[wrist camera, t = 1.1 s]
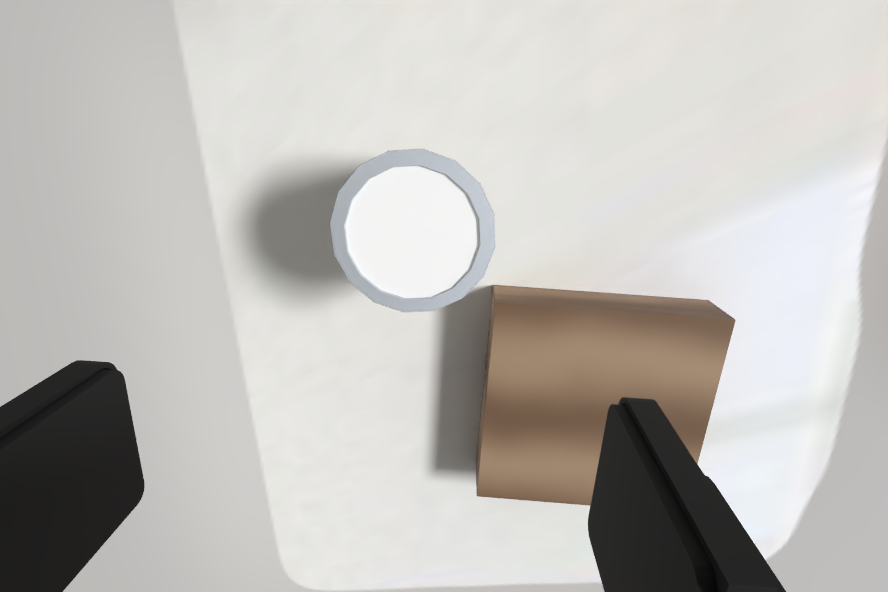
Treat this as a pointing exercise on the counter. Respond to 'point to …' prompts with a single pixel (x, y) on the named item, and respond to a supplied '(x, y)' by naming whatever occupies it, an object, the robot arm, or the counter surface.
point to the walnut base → (587, 382)
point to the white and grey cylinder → (413, 230)
